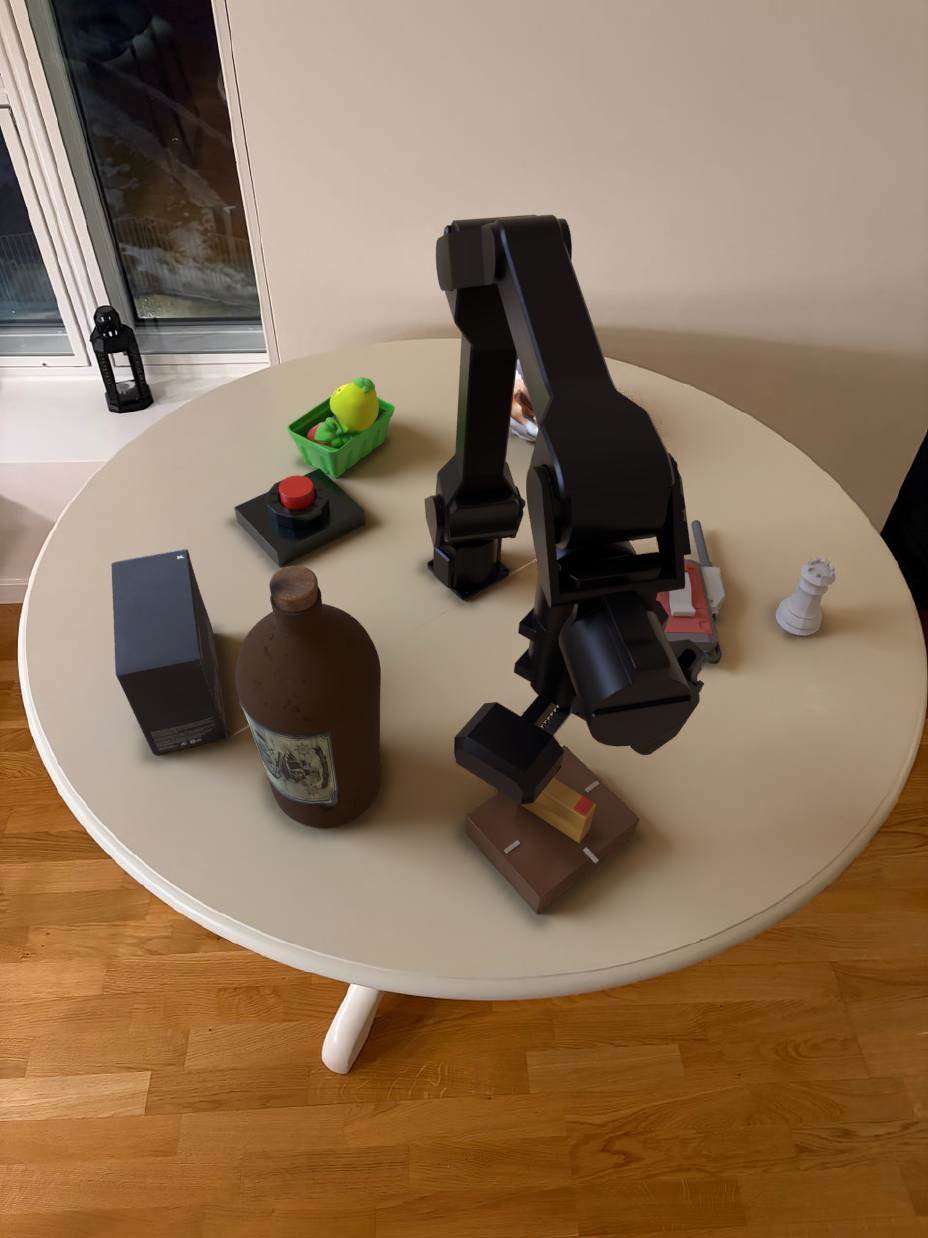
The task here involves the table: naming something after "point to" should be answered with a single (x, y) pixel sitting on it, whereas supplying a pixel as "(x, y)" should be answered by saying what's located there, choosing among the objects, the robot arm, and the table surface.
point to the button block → (300, 520)
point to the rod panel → (550, 837)
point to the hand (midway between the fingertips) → (554, 747)
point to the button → (296, 492)
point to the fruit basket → (342, 427)
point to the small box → (166, 652)
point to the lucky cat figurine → (522, 410)
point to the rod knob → (564, 810)
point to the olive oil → (313, 703)
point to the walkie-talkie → (696, 602)
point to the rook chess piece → (806, 599)
